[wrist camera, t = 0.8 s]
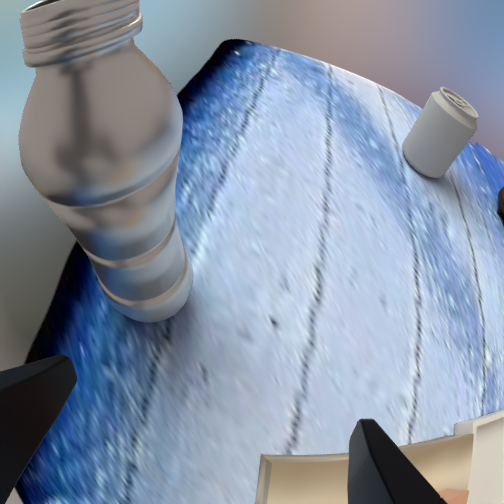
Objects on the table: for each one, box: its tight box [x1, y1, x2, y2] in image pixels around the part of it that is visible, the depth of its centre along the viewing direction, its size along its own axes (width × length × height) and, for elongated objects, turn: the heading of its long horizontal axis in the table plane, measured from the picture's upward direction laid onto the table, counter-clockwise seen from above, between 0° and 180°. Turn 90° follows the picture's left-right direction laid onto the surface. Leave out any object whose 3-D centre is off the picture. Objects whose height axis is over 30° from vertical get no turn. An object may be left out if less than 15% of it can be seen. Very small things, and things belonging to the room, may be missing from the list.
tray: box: [454, 409, 504, 504], centre depth 13 cm, size 16×12×2 cm
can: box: [402, 87, 479, 178], centre depth 31 cm, size 8×8×12 cm
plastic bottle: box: [19, 0, 193, 323], centre depth 13 cm, size 6×7×20 cm
